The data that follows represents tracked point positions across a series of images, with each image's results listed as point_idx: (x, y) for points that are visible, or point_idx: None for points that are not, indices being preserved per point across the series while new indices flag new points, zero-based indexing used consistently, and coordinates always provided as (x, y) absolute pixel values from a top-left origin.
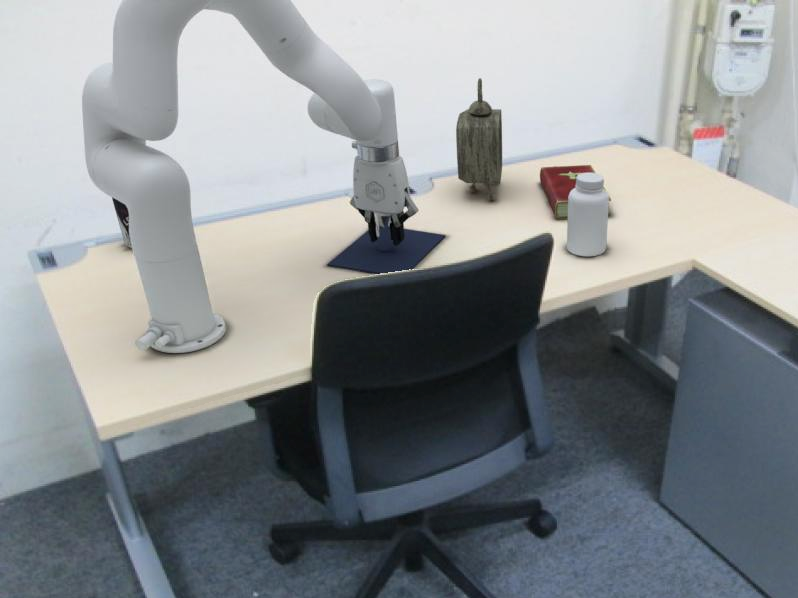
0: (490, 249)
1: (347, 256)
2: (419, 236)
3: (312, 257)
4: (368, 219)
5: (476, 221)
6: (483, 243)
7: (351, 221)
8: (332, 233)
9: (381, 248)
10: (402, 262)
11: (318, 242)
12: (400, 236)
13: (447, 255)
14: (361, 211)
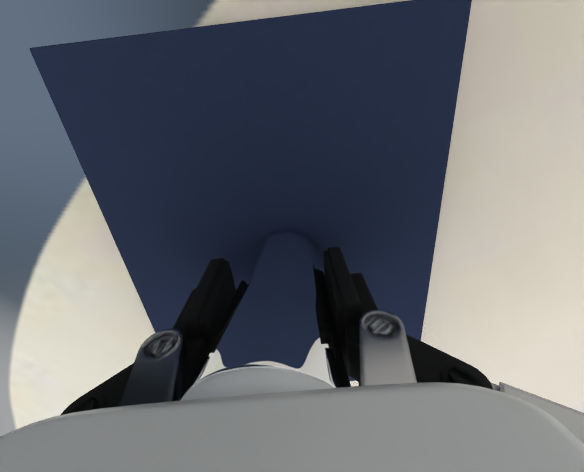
0: (17, 378)
1: (403, 130)
2: None
3: (573, 59)
4: (374, 330)
5: None
6: (66, 395)
7: (497, 367)
8: (538, 287)
9: (284, 235)
10: (149, 185)
11: (577, 208)
12: (189, 299)
13: (81, 306)
14: (453, 374)
